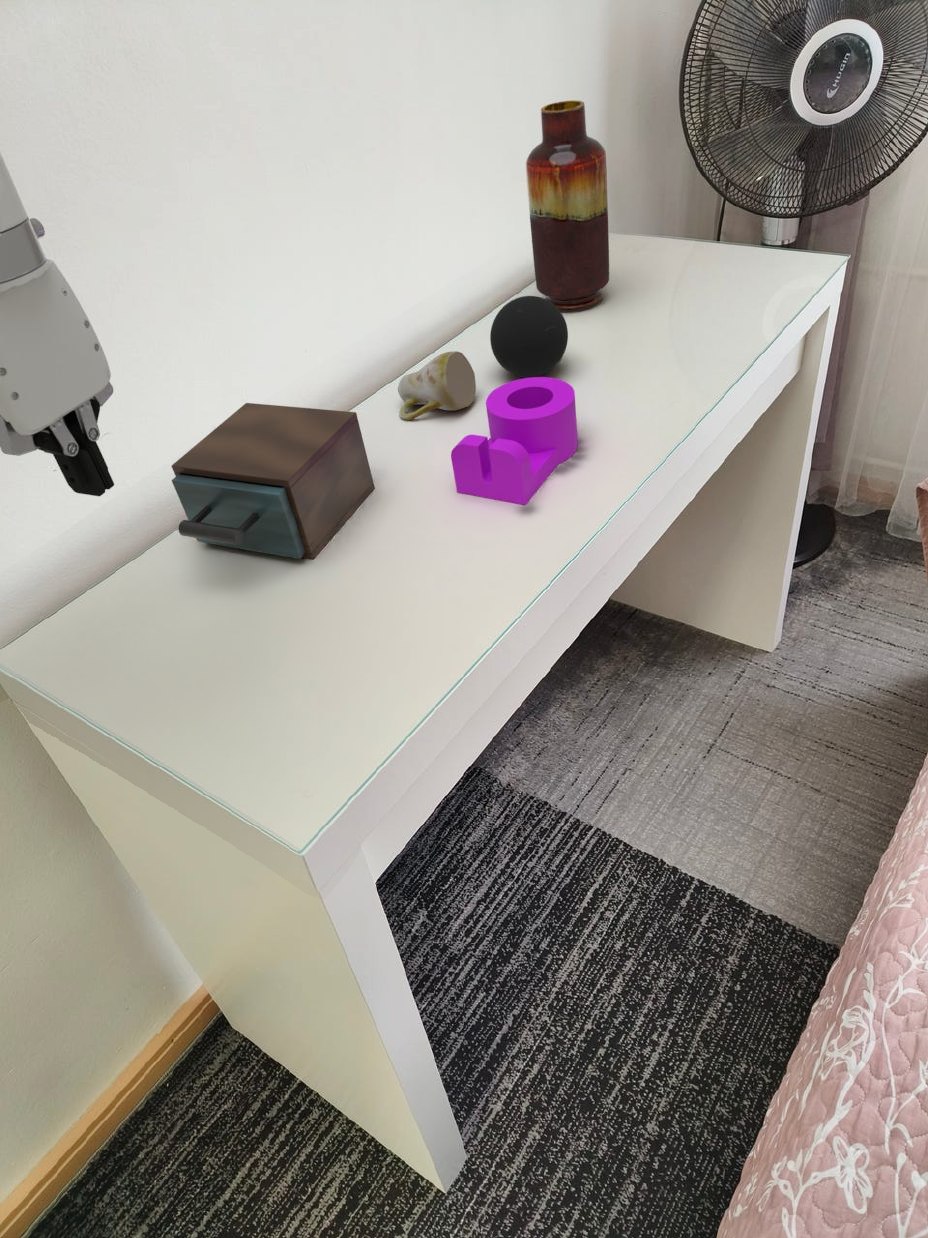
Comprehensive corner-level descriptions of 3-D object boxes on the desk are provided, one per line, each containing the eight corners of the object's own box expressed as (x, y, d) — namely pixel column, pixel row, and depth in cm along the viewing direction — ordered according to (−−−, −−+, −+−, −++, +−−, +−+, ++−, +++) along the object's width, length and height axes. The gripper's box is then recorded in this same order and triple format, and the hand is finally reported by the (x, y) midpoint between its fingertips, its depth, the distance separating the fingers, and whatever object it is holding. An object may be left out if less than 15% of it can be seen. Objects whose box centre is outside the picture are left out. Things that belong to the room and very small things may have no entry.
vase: (542, 288, 134) (527, 101, 117) (612, 284, 132) (607, 91, 115) (532, 317, 127) (514, 120, 110) (607, 313, 124) (601, 110, 107)
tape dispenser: (516, 421, 103) (510, 373, 99) (591, 431, 99) (588, 381, 95) (451, 490, 94) (442, 440, 90) (531, 506, 89) (525, 454, 85)
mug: (409, 391, 114) (436, 325, 108) (466, 432, 112) (496, 366, 106) (378, 404, 108) (404, 335, 102) (437, 447, 107) (467, 379, 100)
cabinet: (313, 559, 88) (287, 480, 81) (202, 540, 93) (170, 465, 87) (375, 488, 96) (356, 411, 90) (270, 475, 102) (246, 402, 96)
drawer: (276, 585, 83) (252, 520, 78) (172, 566, 89) (143, 504, 84) (359, 492, 94) (342, 429, 89) (261, 479, 100) (240, 420, 95)
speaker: (504, 357, 118) (496, 284, 111) (576, 355, 115) (571, 281, 108) (486, 391, 111) (476, 316, 104) (562, 390, 108) (556, 313, 101)
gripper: (27, 225, 64) (121, 441, 76) (-147, 299, 54) (-8, 534, 66) (100, 223, 61) (186, 448, 73) (-70, 301, 51) (62, 547, 63)
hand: (94, 489), depth 69 cm, fingers closed
